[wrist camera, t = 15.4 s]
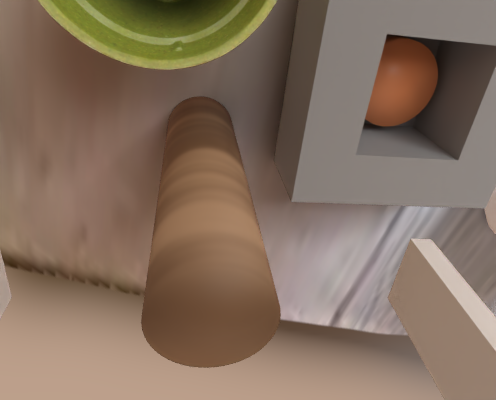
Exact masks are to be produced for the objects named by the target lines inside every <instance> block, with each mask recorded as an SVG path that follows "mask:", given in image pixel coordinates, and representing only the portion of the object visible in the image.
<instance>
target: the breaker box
mask: <svg viewBox="0 0 496 400" xmlns="http://www.w3.org/2000/svg"><path fill="white" fill-rule="evenodd" d="M388 34H391V35H400V36H403V37H406V38H409V39H412V40H415V41H417V42H420V43H422V44H424V45H425V46H426V47H427V48H428V49H429V50H430V51H431V52H432V54H433V55H434V57H435V60H436V62H437V67H438V80H437V85H436V88H435V91H434V93H433V96H432V97H431V99H430V101H429V102H428V104H427V105H426V106H425V108H424V109H423V110H422V111H421V112H420V113H419V114H417V115H416V116H415V117H414V118H412V119H410V120H409V121H407V122H405V123H402V124H399V125H395V126H378V125H375V124H373V123H370V122H369V121H367V120H366V119H365V117H366V113H367V109H368V105H369V102H370V98H371V94H372V90H373V86H374V82H375V78H376V75H377V71H378V67H379V63H380V59H381V55H382V52H383V48H384V44H385V40H386V36H387V35H388ZM274 162H275V164H276V166H277V169H278V171H279V174H280V176H281V178H282V181H283V183H284V185H285V188H286V190H287V193H288V195H289V197H290V200H291V202H308V203H337V204H366V205H396V206H425V207H454V208H483V209H485V208H486V206H487V204H488V202H489V199H490V197H491V195H492V193H493V191H494V189H495V187H496V0H299V1H298V7H297V14H296V20H295V27H294V33H293V40H292V46H291V53H290V59H289V66H288V72H287V79H286V85H285V92H284V98H283V105H282V111H281V118H280V124H279V131H278V137H277V144H276V150H275V157H274Z"/></svg>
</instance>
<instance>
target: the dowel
mask: <svg viewBox="0 0 496 400" xmlns="http://www.w3.org/2000/svg"><path fill="white" fill-rule="evenodd" d="M280 315H281V314H280V305H279V301H278V297H277V294H276V290H275V286H274V282H273V278H272V274H271V271H270V267H269V263H268V259H267V255H266V251H265V248H264V244H263V240H262V236H261V232H260V228H259V224H258V221H257V217H256V213H255V209H254V205H253V201H252V198H251V194H250V190H249V186H248V182H247V178H246V174H245V171H244V167H243V163H242V159H241V155H240V151H239V148H238V144H237V140H236V136H235V132H234V128H233V125H232V121H231V117H230V115H229V113H228V111H227V110H226V109H225V107H224V106H223V105H221V104H220V103H219V102H217V101H216V100H214V99H211V98H208V97H192V98H188V99H186V100H184V101H182V102H181V103H179V104H178V105H177V106H176V107H175V108H174V110H173V111H172V113H171V115H170V117H169V121H168V128H167V136H166V143H165V150H164V158H163V165H162V172H161V180H160V187H159V194H158V201H157V209H156V216H155V223H154V231H153V238H152V245H151V253H150V260H149V267H148V275H147V282H146V289H145V297H144V304H143V312H142V322H141V323H142V330H143V333H144V336H145V338H146V340H147V342H148V343H149V344H150V346H151V347H152V348H153V349H154V350H155V351H156V352H157V353H159V354H160V355H161V356H163V357H165V358H167V359H168V360H171V361H173V362H175V363H179V364H182V365H186V366H192V367H207V368H208V367H219V366H225V365H229V364H233V363H236V362H239V361H241V360H244V359H245V358H248V357H250V356H252V355H253V354H255V353H256V352H258V351H259V350H261V349H262V348H263V347H264V346H265V345H266V344H267V343H268V342H269V341H270V340H271V338H272V337H273V335H274V334H275V332H276V330H277V328H278V325H279V322H280Z"/></svg>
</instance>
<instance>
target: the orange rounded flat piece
mask: <svg viewBox="0 0 496 400" xmlns="http://www.w3.org/2000/svg"><path fill="white" fill-rule="evenodd" d="M437 80H438V67H437V62H436V60H435V57H434V55H433V54H432V52H431V51H430V50H429V49H428V48H427V47H426V46H425V45H424V44H422V43H420V42H417V41H415V40H412V39H409V38H406V37H403V36H400V35H391V34H388V35H387V36H386V40H385V44H384V48H383V52H382V55H381V59H380V63H379V67H378V71H377V75H376V78H375V82H374V86H373V90H372V94H371V98H370V102H369V105H368V109H367V113H366V117H365V119H366V120H367V121H369V122H370V123H373V124H375V125H378V126H395V125H399V124H402V123H405V122H407V121H409V120H410V119H412V118H414V117H415V116H416V115H417V114H419V113H420V112H421V111H422V110H423V109H424V108H425V106H426V105H427V104H428V102H429V101H430V99H431V97H432V96H433V93H434V91H435V88H436V85H437Z"/></svg>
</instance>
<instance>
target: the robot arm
mask: <svg viewBox="0 0 496 400" xmlns="http://www.w3.org/2000/svg"><path fill="white" fill-rule="evenodd" d="M11 298H12V295H11V291H10V288H9V283H8V279H7V275H6V271H5V267H4V263H3V259H2V255H1V251H0V319H1V317H2V315H3V313H4V311H5V309H6V307H7V305H8V304H9V302H10V300H11ZM388 299H389V301H390V303H391V305H392V307H393V308H394V310H395V312H396V314H397V315H398V317H399V319H400V321H401V323H402V324H403V326H404V328H405V330H406V332H407V333H408V335H409V337H410V339H411V341H412V342H413V344H414V346H415V348H416V349H417V351H418V353H419V355H420V357H421V358H422V360H423V362H424V364H425V366H426V367H427V369H428V371H429V373H430V375H431V376H432V378H433V380H434V382H435V383H436V385H437V387H438V389H439V391H440V392H441V394H442V396H443V398H444V399H445V400H496V317H495V316H494V315H493V313H492V312H491V311H490V310H489V308H488V307H487V306H486V305H485V304H484V302H483V301H482V300H481V299H480V298H479V296H478V295H477V294H476V293H475V292H474V290H473V289H472V288H471V287H470V285H469V284H468V283H467V282H466V281H465V279H464V278H463V277H462V276H461V275H460V273H459V272H458V271H457V270H456V269H455V267H454V266H453V265H452V264H451V262H450V261H449V260H448V259H447V258H446V256H445V255H444V254H443V253H442V252H441V250H440V249H439V248H438V247H437V246H436V244H435V243H434V242H433V241H432V239H410V242H409V244H408V247H407V250H406V252H405V255H404V257H403V260H402V263H401V265H400V268H399V270H398V273H397V275H396V278H395V281H394V283H393V286H392V288H391V291H390V294H389V296H388Z"/></svg>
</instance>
